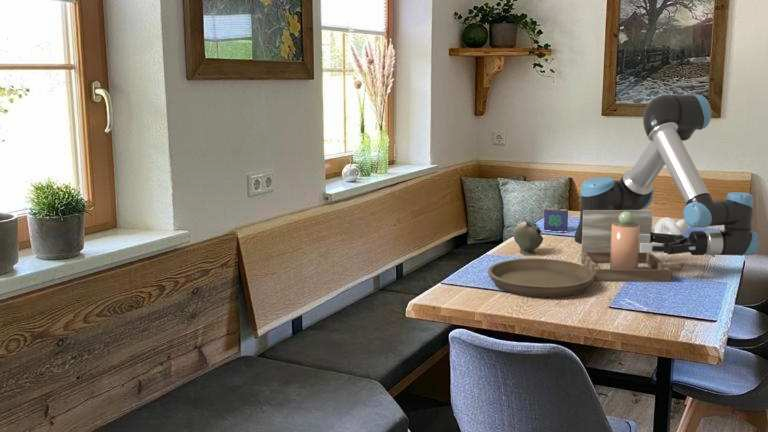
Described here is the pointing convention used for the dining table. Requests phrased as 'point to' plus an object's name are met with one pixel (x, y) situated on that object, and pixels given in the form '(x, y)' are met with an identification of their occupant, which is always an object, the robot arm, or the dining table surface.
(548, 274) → the plant saucer
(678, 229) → the white knot sculpture
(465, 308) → the dining table surface
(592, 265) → the cold frame
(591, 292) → the dining table surface
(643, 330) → the dining table surface
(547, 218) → the purple square panel
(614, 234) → the pink canister
